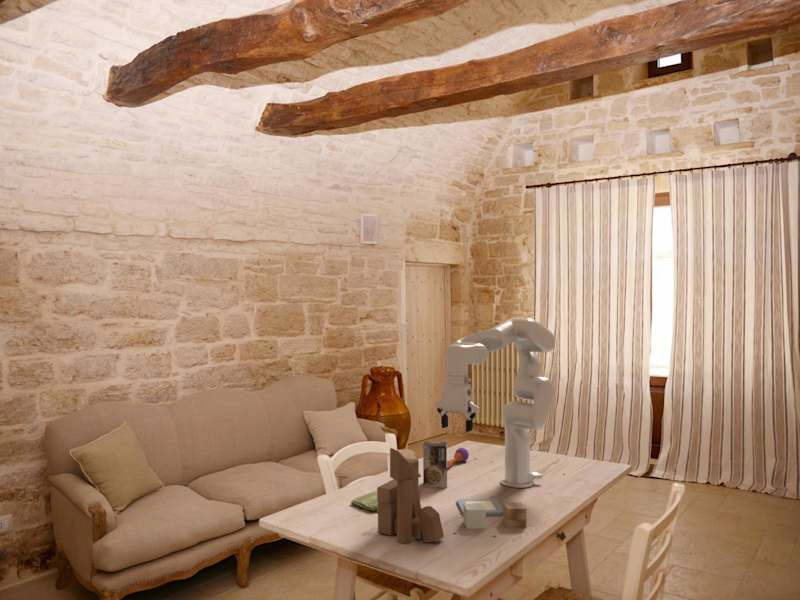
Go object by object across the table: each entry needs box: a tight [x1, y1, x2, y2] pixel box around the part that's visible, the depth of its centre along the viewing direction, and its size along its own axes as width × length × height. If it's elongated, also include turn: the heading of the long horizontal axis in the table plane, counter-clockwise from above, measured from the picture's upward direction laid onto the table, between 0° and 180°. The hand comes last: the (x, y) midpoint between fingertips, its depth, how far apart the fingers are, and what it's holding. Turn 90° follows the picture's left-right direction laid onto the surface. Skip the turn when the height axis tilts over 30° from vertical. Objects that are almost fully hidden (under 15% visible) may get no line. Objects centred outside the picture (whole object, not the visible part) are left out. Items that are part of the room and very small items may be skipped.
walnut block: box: [502, 501, 527, 529], centre depth 204 cm, size 6×6×6 cm
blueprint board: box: [456, 497, 503, 517], centre depth 218 cm, size 14×14×1 cm
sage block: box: [463, 503, 487, 530], centre depth 203 cm, size 6×6×6 cm
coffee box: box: [422, 441, 448, 489], centre depth 244 cm, size 9×6×16 cm
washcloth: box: [350, 490, 378, 514], centre depth 223 cm, size 13×18×3 cm
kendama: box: [447, 447, 470, 470], centre depth 273 cm, size 6×6×20 cm
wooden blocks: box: [376, 447, 445, 544], centre depth 196 cm, size 24×20×28 cm
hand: (456, 429), depth 221 cm, fingers open, 9 cm apart
